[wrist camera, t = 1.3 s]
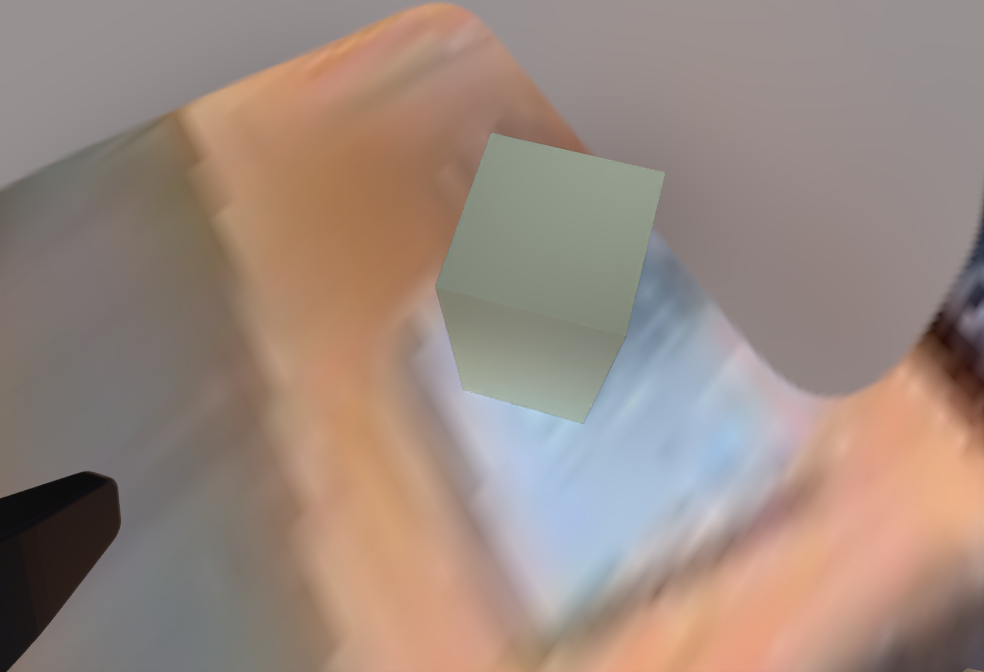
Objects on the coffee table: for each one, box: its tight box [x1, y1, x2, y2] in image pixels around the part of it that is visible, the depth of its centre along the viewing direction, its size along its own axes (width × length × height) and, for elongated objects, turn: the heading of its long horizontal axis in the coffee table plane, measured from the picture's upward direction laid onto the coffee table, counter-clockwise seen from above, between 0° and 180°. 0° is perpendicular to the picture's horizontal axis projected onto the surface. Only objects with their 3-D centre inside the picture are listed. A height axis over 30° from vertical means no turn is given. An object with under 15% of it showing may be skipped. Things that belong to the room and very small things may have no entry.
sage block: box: [435, 133, 665, 424], centre depth 19 cm, size 4×4×9 cm
